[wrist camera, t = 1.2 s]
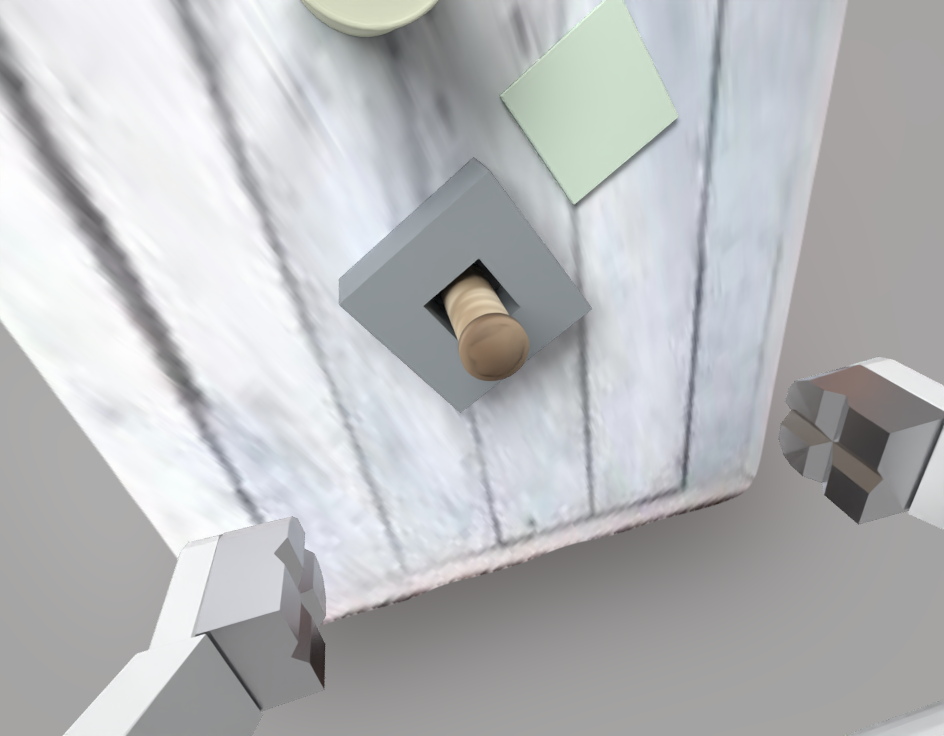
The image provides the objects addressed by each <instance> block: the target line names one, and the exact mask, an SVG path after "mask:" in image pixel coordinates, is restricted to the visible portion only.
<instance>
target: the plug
mask: <svg viewBox="0 0 944 736" xmlns="http://www.w3.org/2000/svg"><path fill="white" fill-rule="evenodd" d="M439 293H440V296H441V298H442V301H443V304H444V306H445V309H446V311H447V314H448V316H449V319H450V321H451V324H452V326H453V329H454V331H455V334H456V336H457V339H458V353H459V356H460V359H461V362H462V364H463V366H464V368H465V370H466V371H467V372H468V373H469V374H470V375H471V376H473V377H475V378H477V379H479V380H483V381H498V380H502V379H505V378H507V377H509V376H511V375H512V374H514V373H515V372H516V371H518V370H519V369H520V368H521V367H522V365H523V364H524V362H525V361H526V359H527V356H528V353H529V339H528V336H527V334H526V332H525V331H524V329H523V327H522V326H521V324H520V323H519V322H518V321H517V320H516V319H515V318H513V317H512V316H510V315H509V314H508V312H507V311H506V309H505V307H504V306H503V304H502V302H501V301H500V299H499V298H498V296H497V294H496V293H495V291H494V290H493V288H492V286H491V285H490V283H489V282H488V280H487V278H486V277H485V275H484V274H483V272H482V270H481V269H480V267H479V266H478V265H477V264H475V263H473V264H472V265H471V266H469V267H468V268H467V269H466V270H465V271H464V272H462V273H461V274H460V275H459V276H458V277H457V278H455V279H454V280H453V281H452V282H451V283H450V284H448V285H447V286H446V287H445V288H444V289H442V290H441V291H440V292H439Z"/></svg>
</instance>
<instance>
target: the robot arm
mask: <svg viewBox="0 0 944 736" xmlns="http://www.w3.org/2000/svg"><path fill="white" fill-rule="evenodd" d="M786 404H787V405H788V406H789V408H790V409H791V411H790V412H789V414H788V415H787V416H786V417H785V419H784V420H783V421H782V423H781V426H780V433H779V442H780V446H781V449H782V452H783V455H784V456H785V458H786V459H787V460H788V462H789V464H790V465H791V466H792V467H793V468H794V469H795V470H797V472H799V473H800V474H801V475H802V476H804V477H807V478H810V479H812V480H815V481H818V482H821V483H822V487H823V493H824V495H825V496H826V497H827V498H828V499H829V500H831V501H832V502H833V503H834V504H835V505H836V506H838V507H839V508H840V509H841V510H842V511H844V512H845V513H846V514H847V515H848V516H849V517H850V518H851V519H853V520H854V521H855V522H856V523H857V524H862V523H866V522H869V521H873V520H877V519H880V518H884V517H887V516H891V515H894V514H898V513H901V512H905V511H909V512H908V514H909V515H912V516H914V517H916V518H919V519H921V520H923V521H925V522H927V523H930V524H932V525H934V526H937V527H939V528H941V529H943V530H944V386H943V385H941V384H939V383H937V382H935V381H933V380H931V379H930V378H928V377H926V376H924V375H921V374H920V373H918V372H916V371H914V370H912V369H910V368H908V367H906V366H904V365H902V364H900V363H898V362H897V361H895V360H893V359H888V358H882V357H877V358H873V359H870V360H866V361H863V362H859V363H856V364H852V365H850V366H848V367H843V368H840V369H836V370H832V371H829V372H825V373H822V374H818V375H815V376H811V377H807V378H804V379H800V380H796V381H794V383H793V384H792V385H791V386H790V388H789V389H788V392H787V397H786ZM304 545H305V532H304V530H303V528H302V526H301V524H300V522H299V520H298V518H296V517H293V516H292V517H287V518H283V519H279V520H275V521H271V522H267V523H263V524H259V525H255V526H251V527H247V528H243V529H238V530H234V531H230V532H226V533H224V534H222V535H217V536H213V537H209V538H205V539H201V540H197V541H192V542H188V543H187V545H186V546H185V547H184V548H183V549H182V550H181V552H180V554H179V557H178V560H177V563H176V566H175V570H174V573H173V576H172V579H171V582H170V585H169V588H168V592H167V594H166V598H165V601H164V604H163V607H162V610H161V613H160V616H159V619H158V622H157V625H156V628H155V631H154V634H153V638H152V641H151V644H150V647H149V650H147V651H145V652H141V653H138V654H136V655H135V656H134V657H133V658H132V659H131V660H130V661H129V663H128V664H127V665H126V666H125V667H124V668H123V669H122V670H121V672H120V673H119V674H118V675H117V676H116V677H115V678H114V679H113V680H112V682H111V683H110V684H109V685H108V686H107V687H106V688H105V689H104V690H103V691H102V693H101V694H100V695H99V696H98V697H97V698H96V699H95V700H94V701H93V703H92V704H91V705H90V706H89V707H88V708H87V709H86V710H85V712H84V713H83V714H82V715H81V716H80V717H79V718H78V719H77V720H76V722H75V723H74V724H73V725H72V726H71V727H70V728H69V729H68V730H67V731H66V733H65V734H64V735H63V736H252V735H253V733H254V731H255V729H256V727H257V725H258V723H259V721H260V720H261V718H262V716H263V715H262V713H261V711H264V710H267V709H270V708H273V707H276V706H279V705H282V704H285V703H288V702H291V701H294V700H297V699H300V698H302V697H306V696H308V695H311V694H314V693H317V692H320V691H323V690H324V686H325V684H324V683H325V681H324V680H325V642H324V641H323V638H322V636H321V635H320V632H319V630H318V627H319V626H320V624H321V623H322V621H323V620H324V618H325V616H326V596H325V588H324V581H323V576H322V573H321V569H320V566H319V563H318V561H317V558H316V556H315V554H314V553H312V552H310V551H308V550H306V549H304ZM844 736H944V700H941V701H938V702H935V703H933V704H930V705H927V706H924V707H921V708H919V709H916V710H913V711H911V712H908V713H905V714H902V715H899V716H897V717H894V718H891V719H888V720H886V721H883V722H880V723H877V724H874V725H872V726H869V727H866V728H863V729H861V730H858V731H855V732H852V733H850V734H847V735H844Z"/></svg>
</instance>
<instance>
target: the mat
mask: <svg viewBox="0 0 944 736" xmlns="http://www.w3.org/2000/svg"><path fill="white" fill-rule="evenodd" d="M500 97H501V99H502V100H503V102H504V103H505V105H506V106H507V108H508V109H509V111H510V112H511V114H512V115H513V117H514V118H515V120H516V121H517V123H518V124H519V126H520V127H521V129H522V130H523V132H524V133H525V134H526V136H527V137H528V139H529V140H530V142H531V143H532V145H533V146H534V148H535V149H536V151H537V152H538V154H539V155H540V157H541V158H542V160H543V161H544V163H545V164H546V166H547V167H548V169H549V170H550V172H551V173H552V175H553V176H554V178H555V179H556V181H557V182H558V184H559V185H560V187H561V188H562V190H563V191H564V193H565V194H566V196H567V197H568V199H569V200H570V202H571V203H572V204H576V203H577V202H578V201H579V200H580V199H582V198H583V197H584V196H585V195H586V194H588V193H589V192H590V191H591V190H592V189H593V188H595V187H596V186H597V185H598V184H599V183H601V182H602V181H603V180H604V179H605V178H607V177H608V176H609V175H610V174H611V173H612V172H614V171H615V170H616V169H617V168H618V167H620V166H621V165H622V164H623V163H624V162H626V161H627V160H628V159H629V158H630V157H631V156H633V155H634V154H635V153H636V152H637V151H639V150H640V149H641V148H642V147H643V146H645V145H646V144H647V143H648V142H649V141H650V140H652V139H653V138H654V137H655V136H656V135H658V134H659V133H660V132H661V131H662V130H664V129H665V128H666V127H667V126H668V125H669V124H671V123H672V122H673V121H674V120H675V119H677V118H678V117H679V116H678V114H677V112H676V110H675V108H674V106H673V103H672V101H671V99H670V97H669V95H668V93H667V91H666V89H665V87H664V85H663V83H662V81H661V78H660V76H659V74H658V72H657V70H656V68H655V66H654V64H653V62H652V60H651V58H650V55H649V53H648V51H647V49H646V47H645V45H644V43H643V41H642V39H641V37H640V35H639V32H638V30H637V28H636V26H635V24H634V22H633V20H632V18H631V16H630V14H629V12H628V9H627V7H626V5H625V3H624V1H623V0H603V1H602V2H601V3H600V4H599V5H598V6H597V7H595V8H594V9H593V10H592V11H591V12H590V13H589V14H588V15H587V16H586V17H585V18H584V19H582V20H581V21H580V22H579V23H578V24H577V25H576V26H575V27H574V28H573V29H572V30H571V31H569V32H568V33H567V34H566V35H565V36H564V37H563V38H562V39H561V40H560V41H559V42H557V43H556V44H555V45H554V46H553V47H552V48H551V49H550V50H549V51H548V52H547V53H546V54H544V55H543V56H542V57H541V58H540V59H539V60H538V61H537V62H536V63H535V64H534V65H533V66H531V67H530V68H529V69H528V70H527V71H526V72H525V73H524V74H523V75H522V76H521V77H520V78H518V79H517V80H516V81H515V82H514V83H513V84H512V85H511V86H510V87H509V88H508V89H506V90H505V91H504V92H503V93H502V94H501V95H500Z"/></svg>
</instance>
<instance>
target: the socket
mask: <svg viewBox="0 0 944 736" xmlns="http://www.w3.org/2000/svg"><path fill="white" fill-rule="evenodd" d="M478 259H480V260H481V262H482V263H483V264H484V265H485V266H486V267H487V269H488V270H489V271H490V272H491V273H492V274H493V276H494V277H495V278H496V279H497V280H498V281H499V283H500V284H501V285H502V286H500V287H499V288H498V289H497V290H496V291H495V293H496V294H497V296H498V298H499V299H500V301H501V302H502V304H503V306H504V307H505V309H506V311H507V312H508V314H509V315H510V316H512V317H513V318H515V319H516V320H517V321H518V322H519V323H520V324H521V326H522V327H523V329H524V331H525V332H526V334H527V336H528V339H529V353H528V356H527V359H526V361H527V360H528V359H529V358H531V357H532V356H533V355H534V354H536V353H537V352H538V351H539V350H541V349H542V348H543V347H545V346H546V345H547V344H548V343H550V342H551V341H552V340H553V339H555V338H556V337H557V336H558V335H560V334H561V333H562V332H564V331H565V330H566V329H567V328H569V327H570V326H571V325H572V324H574V323H575V322H576V321H578V320H579V319H580V318H581V317H583V316H584V315H585V314H586V313H588V312H589V311H590V310H591V309H592V307H591V306H590V305H589V303H588V302H587V301H586V299H585V298H584V297H583V295H582V294H581V293H580V291H579V290H578V289H577V287H576V286H575V285H574V283H573V282H572V281H571V279H570V278H569V277H568V275H567V274H566V273H565V271H564V270H563V268H562V267H561V266H560V264H559V263H558V262H557V260H556V259H555V258H554V256H553V255H552V254H551V252H550V251H549V250H548V248H547V247H546V246H545V244H544V243H543V242H542V240H541V239H540V238H539V236H538V235H537V234H536V232H535V231H534V230H533V228H532V227H531V226H530V224H529V223H528V222H527V220H526V219H525V218H524V216H523V215H522V214H521V212H520V211H519V210H518V208H517V207H516V206H515V204H514V203H513V202H512V200H511V199H510V197H509V196H508V195H507V193H506V192H505V191H504V189H503V188H502V187H501V185H500V184H499V183H498V181H497V180H496V179H495V177H494V176H493V175H492V173H491V172H490V171H489V170H488V169H487V168H486V167H485V166H483V165H482V164H481V163H480V162H479V161H477V160H476V159H475V158H472V159H471V160H470V161H469V162H468V163H467V164H466V165H465V166H464V167H463V168H461V169H460V170H459V171H458V172H457V173H456V174H455V175H454V176H453V177H451V178H450V179H449V180H448V181H447V182H446V183H445V184H444V185H443V186H441V187H440V188H439V189H438V190H437V191H436V192H435V193H434V194H433V195H432V196H430V197H429V198H428V199H427V200H426V201H425V202H424V203H423V204H422V205H420V206H419V207H418V208H417V209H416V210H415V211H414V212H413V213H412V214H411V215H409V216H408V217H407V218H406V219H405V220H404V221H403V222H402V223H401V224H399V225H398V226H397V227H396V228H395V229H394V230H393V231H392V232H391V233H390V234H388V235H387V236H386V237H385V238H384V239H383V240H382V241H381V242H380V243H378V244H377V245H376V246H375V247H374V248H373V249H372V250H371V251H370V252H368V253H367V254H366V255H365V256H364V257H363V258H362V259H361V260H360V261H359V262H357V263H356V264H355V265H354V266H353V267H352V268H351V269H350V270H349V271H347V272H346V273H345V274H344V275H343V276H342V277H341V278H340V279H339V305H340V306H341V307H342V308H343V309H344V310H345V311H347V312H348V313H349V314H350V315H351V316H352V317H353V318H354V319H355V320H357V321H358V322H359V323H360V324H361V325H362V326H363V327H364V328H366V329H367V330H368V331H369V332H370V333H371V334H372V335H373V336H375V337H376V338H377V339H378V340H379V341H380V342H381V343H382V344H383V345H385V346H386V347H387V348H388V349H389V350H390V351H391V352H392V353H394V354H395V355H396V356H397V357H398V358H399V359H400V360H401V361H403V362H404V363H405V364H406V365H407V366H408V367H409V368H410V369H412V370H413V371H414V372H415V373H416V374H417V375H418V376H419V377H420V378H422V379H423V380H424V381H425V382H426V383H427V384H428V385H429V386H431V387H432V388H433V389H434V390H435V391H436V392H437V393H438V394H440V395H441V396H442V397H443V398H444V399H445V400H446V401H447V402H448V403H450V404H451V405H452V406H453V407H454V408H455V409H456V410H457V411H459V412H460V413H461V412H462V411H463V410H465V409H466V408H467V407H469V406H470V405H471V404H472V403H474V402H475V401H476V400H477V399H479V398H480V397H481V396H482V395H484V394H485V393H486V392H488V391H489V390H490V389H491V388H493V387H494V386H495V385H496V384H498V383H499V382H500V381H501V380H498V381H483V380H479V379H477V378H475V377H473V376H471V375H470V374H469V373H468V372H467V371H466V370H465V368H464V366H463V364H462V362H461V359H460V356H459V353H458V339H457V336H456V334H455V331H454V329H453V326H452V324H451V321H450V319H449V316H448V314H447V313H446V312H445V311H444V310H443V309H442V308H441V307H440V306H439V305H438V304H437V303H436V302H435V301H434V300H433V299H432V298H433V297H434V296H435V295H437V294H438V293H439V292H440V291H441V290H442V289H444V288H445V287H446V286H447V285H448V284H450V283H451V282H452V281H453V280H454V279H455V278H457V277H458V276H459V275H460V274H461V273H462V272H464V271H465V270H466V269H467V268H468V267H469V266H471V265H472V264H473V263H474V262H475V261H476V260H478ZM526 361H525V362H526ZM502 380H503V379H502Z"/></svg>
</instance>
